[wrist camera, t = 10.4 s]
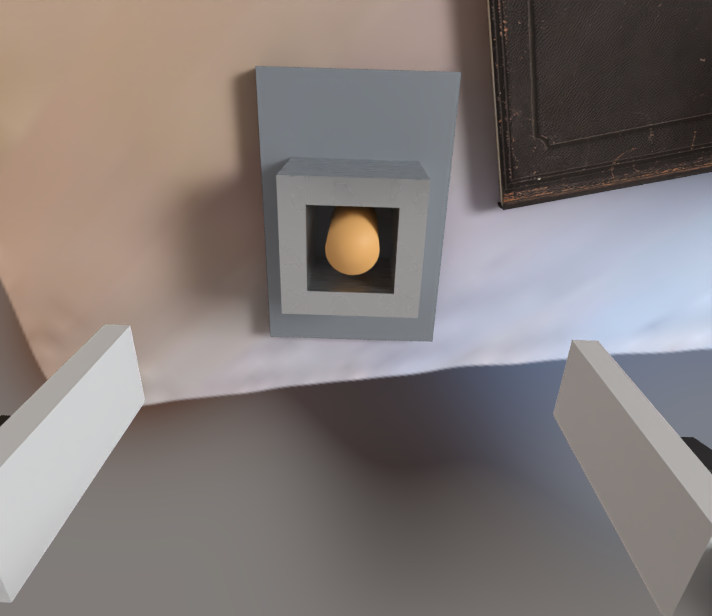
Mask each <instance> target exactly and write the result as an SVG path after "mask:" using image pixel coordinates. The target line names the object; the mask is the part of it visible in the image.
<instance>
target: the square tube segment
mask: <svg viewBox="0 0 712 616" xmlns="http://www.w3.org/2000/svg"><path fill="white" fill-rule="evenodd" d="M430 182H431V180H430V178H429V177H428V175H427V173H426V172H425V170H424V168H423V167H422V165H421V163H420V162H419V161H399V160H368V159H336V158H305V157H291V159H290V160H289V161H288V162H287V163H286V164H285V165H284V167H283V168H282V169H281V170H280V171H279V172H278V174H277V175H276V184H277V208H278V232H279V256H280V280H281V304H282V314H310V315H340V316H371V317H401V318H418V311H419V300H420V290H421V279H422V268H423V257H424V246H425V236H426V225H427V214H428V203H429V193H430ZM316 205H327V206H359V207H390V208H392V222H391V238H390V254H389V258H378V259H377V261H376V263H375V264H374V266H373V267H372V268H371V269H369V270H368V271H366V272H364V273H362V274H358V275H347V274H343V273H341V272H339V271H337V270H336V269H335V268H333V267H332V266H331V264H330V263H329V261H328V259H327V257H326V256H316Z"/></svg>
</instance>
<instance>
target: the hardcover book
mask: <svg viewBox="0 0 712 616" xmlns="http://www.w3.org/2000/svg"><path fill="white" fill-rule="evenodd" d="M487 7H488V22H489V36H490V51H491V65H492V80H493V94H494V109H495V124H496V138H497V153H498V167H499V182H500V197H501V202H499V203H498V205H499V207H500V208H501V209H503V210H506V209H512V208H517V207H523V206H528V205H533V204H539V203H544V202H550V201H555V200H561V199H566V198H572V197H577V196H583V195H588V194H594V193H599V192H604V191H610V190H615V189H621V188H626V187H632V186H637V185H643V184H648V183H654V182H659V181H665V180H670V179H675V178H681V177H686V176H692V175H697V174H703V173H708V172H712V0H487Z"/></svg>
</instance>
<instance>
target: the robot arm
mask: <svg viewBox="0 0 712 616" xmlns="http://www.w3.org/2000/svg"><path fill="white" fill-rule="evenodd" d="M144 402H145V398H144V393H143V388H142V383H141V377H140V372H139V367H138V362H137V357H136V352H135V347H134V342H133V337H132V332H131V326H130V325H104V326H103V327H101V328H100V329H99V330H98V331H97V332H96V333H95V334H94V335H93V336H92V337H91V338H90V339H89V340H88V341H87V342H86V343H85V344H84V345H83V346H82V347H81V348H80V349H79V350H78V351H77V352H76V353H75V354H74V355H73V356H72V357H71V358H70V359H69V360H68V361H67V362H66V363H65V364H64V365H63V366H62V367H61V368H60V369H59V370H58V371H57V372H56V373H55V374H54V375H53V376H52V377H51V378H49V379H48V380H47V381H46V382H45V383H44V384H43V385H42V386H41V387H40V388H39V389H38V390H37V391H36V392H35V393H34V394H33V395H32V396H31V397H30V398H29V399H28V400H27V401H26V402H25V403H24V404H23V405H22V406H21V407H20V408H19V409H18V410H17V411H16V412H15V413H14V414H13V415H12V416H5V415H1V416H0V602H12V601H13V599H14V598H15V596H16V595H17V593H18V592H19V590H20V589H21V587H22V586H23V584H24V583H25V581H26V580H27V578H28V577H29V575H30V574H31V572H32V571H33V569H34V568H35V566H36V565H37V563H38V562H39V560H40V559H41V557H42V556H43V554H44V553H45V551H46V550H47V548H48V546H49V545H50V544H51V542H52V541H53V539H54V538H55V536H56V535H57V533H58V531H59V530H60V529H61V527H62V525H63V524H64V522H65V521H66V519H67V518H68V516H69V515H70V513H71V512H72V510H73V509H74V507H75V506H76V504H77V503H78V501H79V500H80V498H81V497H82V495H83V494H84V492H85V491H86V489H87V488H88V486H89V485H90V483H91V482H92V480H93V479H94V477H95V476H96V474H97V473H98V471H99V470H100V468H101V467H102V465H103V464H104V462H105V461H106V459H107V458H108V456H109V455H110V453H111V452H112V450H113V449H114V447H115V446H116V444H117V442H118V441H119V440H120V438H121V437H122V435H123V434H124V432H125V431H126V429H127V428H128V426H129V424H130V423H131V421H132V420H133V418H134V417H135V415H136V414H137V412H138V411H139V409H140V408H141V406H142V405H143V403H144ZM553 415H554V417H555V419H556V421H557V423H558V424H559V426H560V428H561V430H562V432H563V434H564V436H565V438H566V439H567V441H568V443H569V445H570V447H571V449H572V450H573V452H574V454H575V456H576V458H577V459H578V461H579V463H580V465H581V467H582V469H583V471H584V473H585V474H586V476H587V478H588V480H589V482H590V484H591V486H592V487H593V489H594V491H595V493H596V495H597V497H598V498H599V500H600V502H601V504H602V506H603V508H604V510H605V511H606V513H607V515H608V517H609V519H610V521H611V522H612V524H613V526H614V528H615V530H616V532H617V533H618V535H619V537H620V539H621V541H622V543H623V544H624V546H625V548H626V550H627V552H628V554H629V556H630V557H631V559H632V561H633V563H634V565H635V567H636V569H637V570H638V572H639V574H640V576H641V578H642V580H643V581H644V583H645V585H646V587H647V589H648V591H649V593H650V594H651V596H652V598H653V600H654V602H655V604H656V605H657V607H658V609H659V611H660V613H661V615H662V616H712V450H711V449H710V448H708V447H707V446H705V445H704V444H702V443H701V442H699V441H698V440H697V439H695V438H693V437H680V436H679V435H678V434H677V433H676V432H675V431H674V429H673V428H672V427H671V426H670V425H669V423H668V422H667V421H666V420H665V419H664V418H663V416H662V415H661V414H660V413H659V412H658V411H657V409H656V408H655V407H654V406H653V405H652V404H651V402H650V401H649V400H648V399H647V398H646V397H645V395H644V394H643V393H642V392H641V391H640V390H639V389H638V387H637V386H636V385H635V384H634V382H633V381H632V380H631V379H630V378H629V377H628V376H627V374H626V373H625V372H624V371H623V370H622V369H621V367H620V366H619V365H618V364H617V363H616V361H615V360H614V359H613V358H612V357H611V356H610V354H609V353H608V352H607V351H606V350H605V349H604V347H603V346H602V345H601V344H600V343H599V341H586V340H572V343H571V347H570V350H569V354H568V358H567V362H566V367H565V371H564V374H563V378H562V382H561V386H560V390H559V394H558V398H557V402H556V406H555V409H554V413H553Z"/></svg>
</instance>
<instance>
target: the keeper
mask: <svg viewBox="0 0 712 616" xmlns="http://www.w3.org/2000/svg"><path fill="white" fill-rule="evenodd" d="M255 67H256V85H257V102H258V120H259V138H260V156H261V174H262V192H263V210H264V228H265V245H266V263H267V281H268V299H269V317H270V335H271V337H303V338H335V339H367V340H399V341H431V342H432V340H433V331H434V321H435V312H436V303H437V294H438V284H439V275H440V266H441V256H442V247H443V238H444V228H445V219H446V210H447V200H448V191H449V182H450V172H451V163H452V154H453V145H454V135H455V126H456V117H457V107H458V98H459V89H460V79H461V72H438V71H403V70H369V69H335V68H301V67H266V66H255ZM291 157H305V158H336V159H368V160H399V161H419V162H420V163H421V165H422V167H423V168H424V170H425V172H426V173H427V175H428V177H429V178H430V180H431V182H430V193H429V203H428V214H427V225H426V236H425V246H424V257H423V268H422V279H421V290H420V300H419V311H418V318H401V317H371V316H340V315H310V314H282V304H281V280H280V256H279V232H278V208H277V184H276V175H277V174H278V172H279V171H280V170H281V169H282V168H283V167H284V165H285V164H286V163H287V162H288V161H289V160H290V159H291ZM391 222H392V208H390V207H359V206H327V205H316V256H326V257H327V259H328V261H329V263H330V264H331V266H332V267H333V268H335V269H336V270H337V271H339V272H341V273H343V274H347V275H358V274H362V273H364V272H366V271H368V270H369V269H371V268H372V267H373V266H374V264H375V263H376V261H377V259H378V258H389V254H390V238H391Z"/></svg>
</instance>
